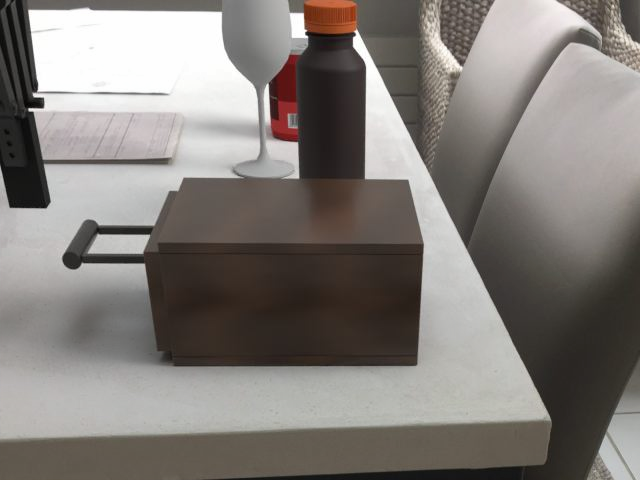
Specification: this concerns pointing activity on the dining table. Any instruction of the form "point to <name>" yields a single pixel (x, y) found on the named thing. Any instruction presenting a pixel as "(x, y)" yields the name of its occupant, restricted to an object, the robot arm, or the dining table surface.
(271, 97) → the canned food
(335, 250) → the cabinet
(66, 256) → the drawer
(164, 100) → the dining table surface
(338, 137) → the bottle
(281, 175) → the wineglass
